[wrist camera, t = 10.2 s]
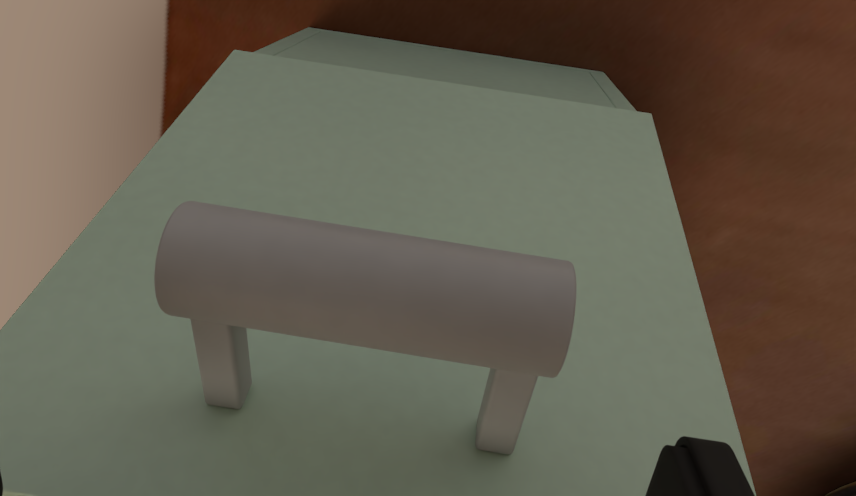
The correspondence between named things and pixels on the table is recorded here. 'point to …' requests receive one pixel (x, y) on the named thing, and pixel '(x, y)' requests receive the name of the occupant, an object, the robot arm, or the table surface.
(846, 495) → the ceramic bowl
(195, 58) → the table surface
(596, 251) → the lid
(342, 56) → the green box
